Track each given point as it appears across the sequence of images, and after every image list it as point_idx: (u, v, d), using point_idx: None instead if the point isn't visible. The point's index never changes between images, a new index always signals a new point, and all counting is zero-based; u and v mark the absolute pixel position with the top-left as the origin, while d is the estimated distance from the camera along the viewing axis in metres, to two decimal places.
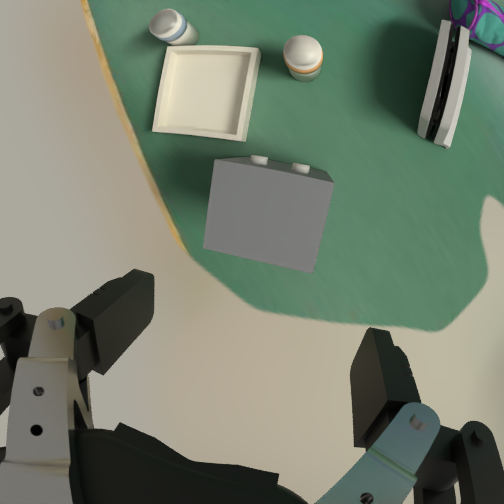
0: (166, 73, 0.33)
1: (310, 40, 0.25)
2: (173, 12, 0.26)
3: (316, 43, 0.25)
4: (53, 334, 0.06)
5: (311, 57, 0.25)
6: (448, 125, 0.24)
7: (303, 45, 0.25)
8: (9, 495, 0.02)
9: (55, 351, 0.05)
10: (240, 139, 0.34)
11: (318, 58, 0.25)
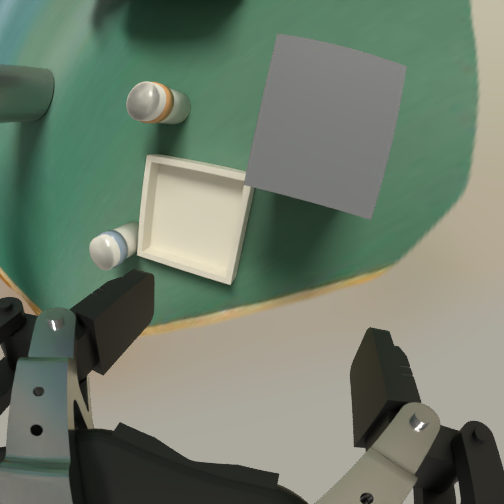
0: (166, 259, 0.34)
1: (132, 94, 0.24)
2: (93, 241, 0.31)
3: (135, 88, 0.24)
4: (53, 334, 0.06)
5: (150, 91, 0.24)
6: None
7: (137, 100, 0.24)
8: (9, 495, 0.02)
9: (55, 351, 0.05)
10: None
11: (151, 84, 0.23)
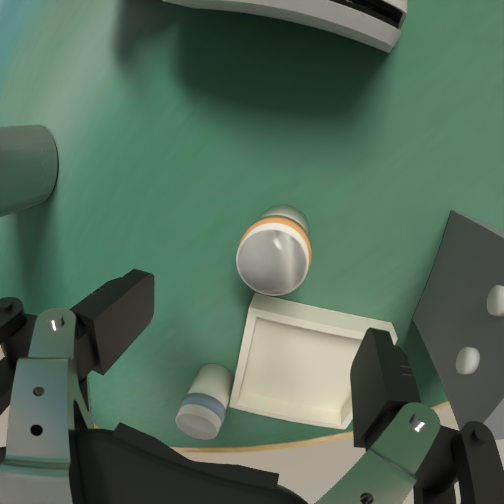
0: (270, 411, 0.26)
1: (249, 246, 0.16)
2: (182, 415, 0.22)
3: (254, 235, 0.16)
4: (53, 334, 0.06)
5: (287, 248, 0.16)
6: None
7: (259, 260, 0.16)
8: (9, 495, 0.02)
9: (55, 351, 0.05)
10: (394, 339, 0.21)
11: (289, 235, 0.16)
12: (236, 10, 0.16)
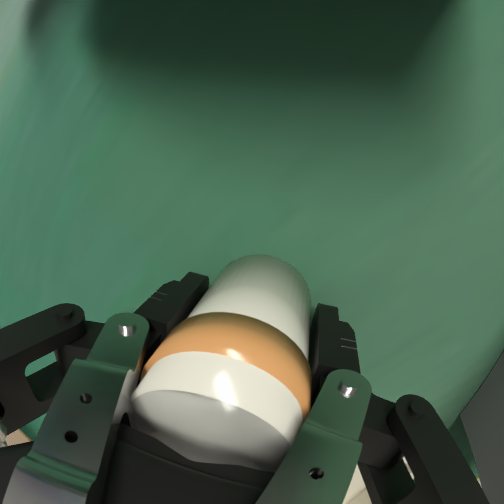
0: None
1: (146, 411, 0.05)
2: None
3: (152, 396, 0.05)
4: (121, 340, 0.06)
5: (241, 433, 0.05)
6: None
7: (177, 438, 0.05)
8: (9, 495, 0.02)
9: (138, 359, 0.06)
10: None
11: (244, 411, 0.05)
12: None
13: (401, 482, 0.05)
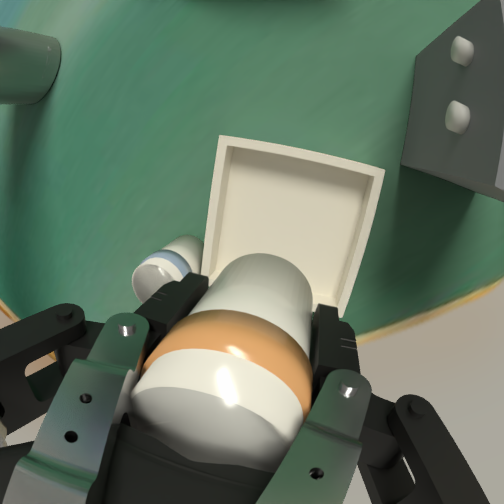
0: None
1: (145, 408, 0.05)
2: (140, 269, 0.21)
3: (151, 393, 0.05)
4: (121, 340, 0.06)
5: (240, 432, 0.05)
6: None
7: (176, 436, 0.05)
8: (9, 495, 0.02)
9: (138, 359, 0.06)
10: (382, 170, 0.19)
11: (243, 408, 0.05)
12: None
13: (401, 482, 0.05)
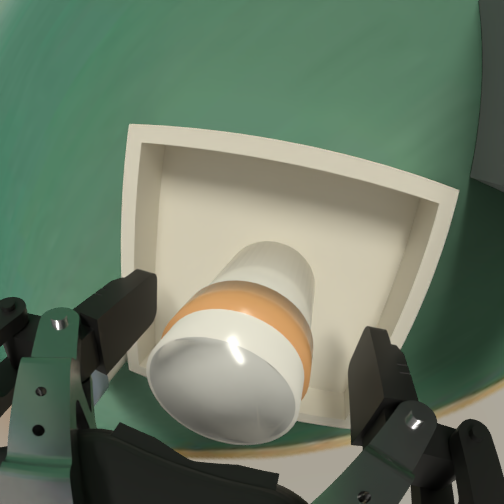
0: None
1: (166, 362, 0.07)
2: None
3: (174, 345, 0.06)
4: (57, 334, 0.06)
5: (250, 380, 0.06)
6: None
7: (192, 390, 0.07)
8: (9, 495, 0.02)
9: (59, 351, 0.05)
10: (453, 191, 0.08)
11: (254, 355, 0.06)
12: None
13: None
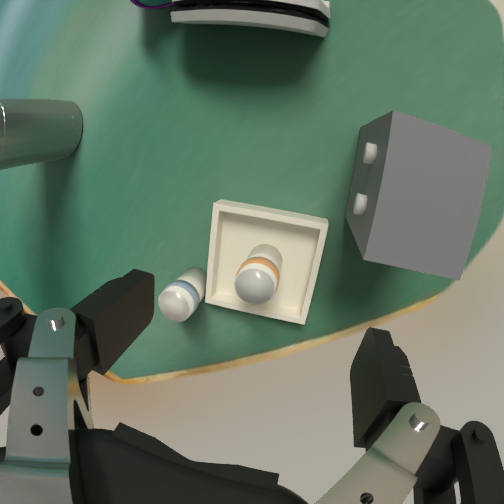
0: (238, 305, 0.35)
1: (241, 277, 0.28)
2: (164, 293, 0.32)
3: (244, 271, 0.28)
4: (53, 334, 0.06)
5: (263, 279, 0.28)
6: (315, 0, 0.18)
7: (247, 285, 0.28)
8: (9, 495, 0.02)
9: (55, 351, 0.05)
10: (326, 225, 0.30)
11: (264, 272, 0.28)
12: (219, 23, 0.26)
13: None
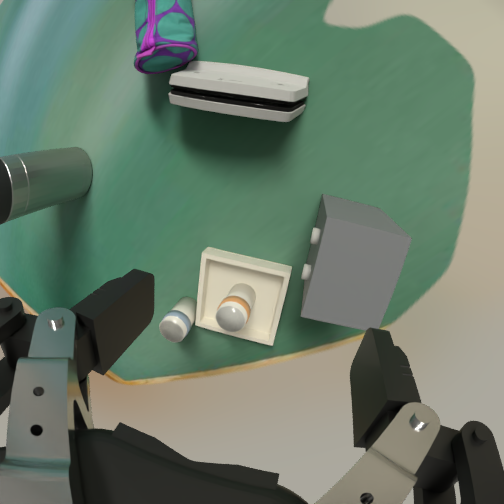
0: (220, 328, 0.45)
1: (220, 311, 0.37)
2: (164, 321, 0.41)
3: (223, 307, 0.37)
4: (53, 334, 0.06)
5: (236, 314, 0.37)
6: (290, 93, 0.27)
7: (225, 317, 0.38)
8: (9, 495, 0.02)
9: (55, 351, 0.05)
10: (289, 273, 0.39)
11: (237, 309, 0.37)
12: None
13: None
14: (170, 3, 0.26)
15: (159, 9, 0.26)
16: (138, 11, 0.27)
